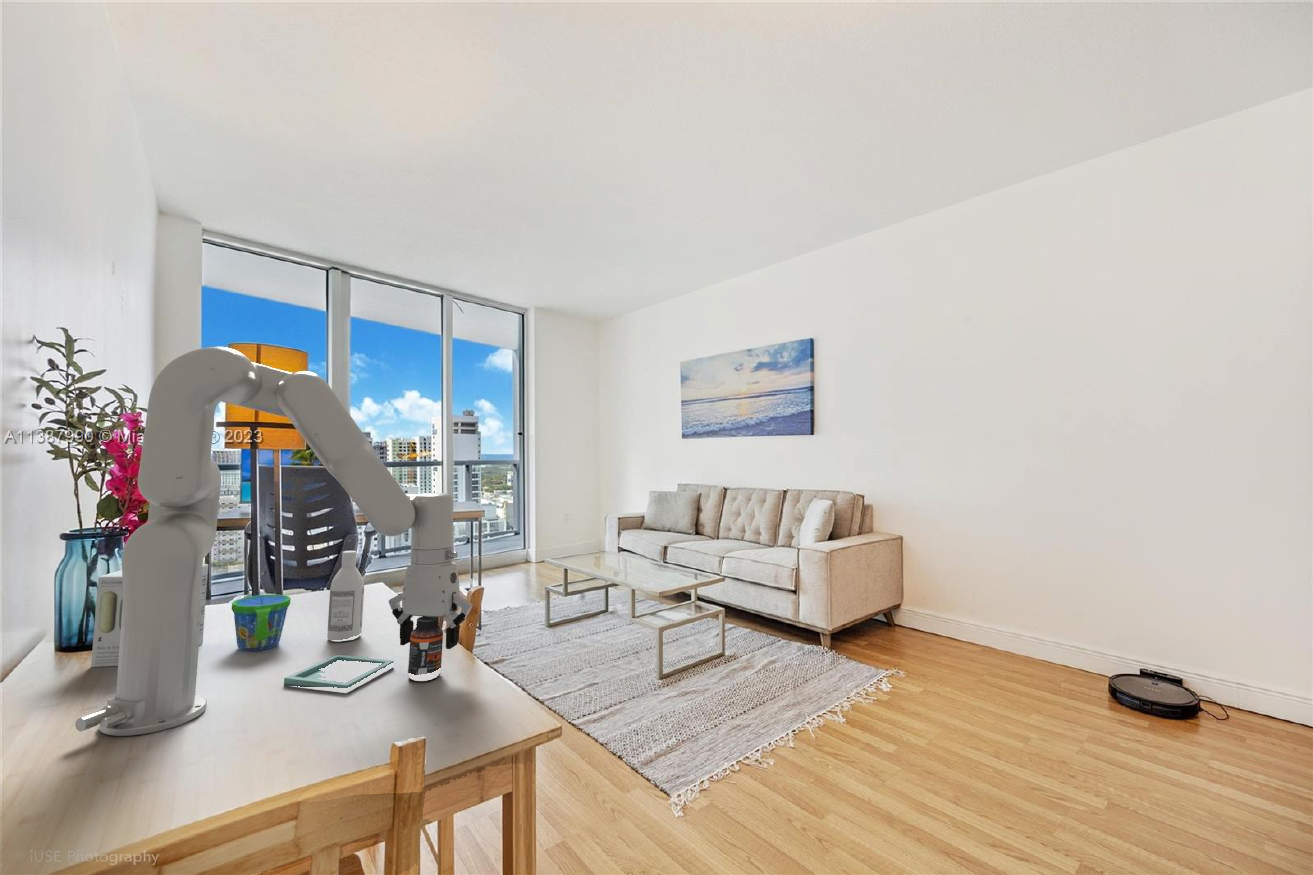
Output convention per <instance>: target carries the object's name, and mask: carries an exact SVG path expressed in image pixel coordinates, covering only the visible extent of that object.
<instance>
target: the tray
mask: <svg viewBox="0 0 1313 875" xmlns="http://www.w3.org/2000/svg"><path fill="white" fill-rule="evenodd" d="M337 660H342V661H344V660H346V661H359V662H360V661H361V662H370V663H371V662H372V663H382V664H381V665H379V666H378V667H376V668H374V669H372V670H370V671H368V672H366V673H364V674H362V675H360V676H358V677H356V678H354V679H352V680H350V681H348V682H346V683H344V682H336V681H327V680H321V679H318V678H326V677H325V676H324V677H322V676H321V675H320V674H318V673H325V671H324V672H323V671H321V670H319V669H321V668H325V667H326V666H328V665H329V664H332V663H333V662H336V661H337ZM393 662H394V663H395V660H391V659H379V658H371V657H363V656H362V657H361V656H353V655H343V654H336V655H334V656H331V657H329V658H326V659H324V660H322V661H320V662H318V663H316V664H313V665H310V666H308V667H306V668H303V669H302V670H301V669H300V670H299V671H297V672H294V673H293V674H291V675H290V674H289V675H287V676H286V677H284V678H283V687H285V686H297V687H298V686H300V687H333V688H334V687H337V688H348V687H351V686H352V685H354V684H356V683H357V682H360V681H361V680H363V679H364V678H367V677H368V676H370V675H371V674H373V673H376V672H377V671H378V670H380V669H382V668H385V667H386V666H387V665H389V664H391V663H393ZM317 674H318V675H317Z"/></svg>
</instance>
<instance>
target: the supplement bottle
mask: <svg viewBox="0 0 1313 875" xmlns="http://www.w3.org/2000/svg"><path fill="white" fill-rule="evenodd" d="M439 620H440V617H424V616H418V617H417V619H416V625H415V626H416V627H415V628H413V631H412V632H411V636H410V642H409V650H408V651H409V653H408V665H407V666H408V669H407V674H408V673H411V674H414V675H419V674H420V675H421V674H427V673H432V672H434V671H436V670H438V669H439V668H441V669H442V663H443V661H442V659H443V657H442V656H443V644H444V643H443V642H444V630H443V629H442V628H441V627H440V625H439V624H440V623H439Z"/></svg>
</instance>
